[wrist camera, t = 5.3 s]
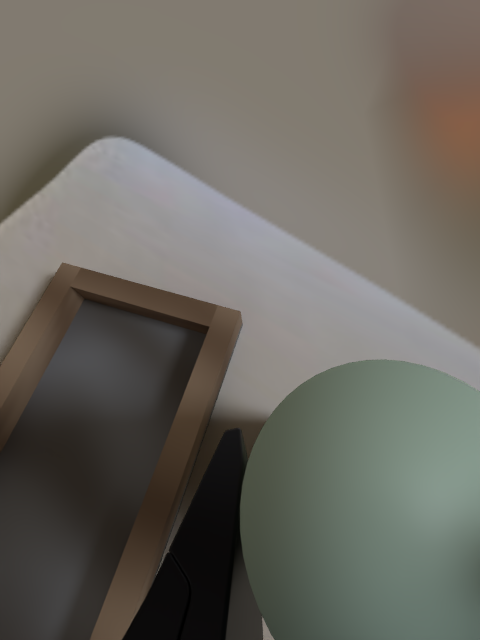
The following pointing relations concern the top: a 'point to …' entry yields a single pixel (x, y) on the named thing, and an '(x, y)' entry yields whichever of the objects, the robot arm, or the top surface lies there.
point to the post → (367, 507)
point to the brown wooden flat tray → (99, 447)
